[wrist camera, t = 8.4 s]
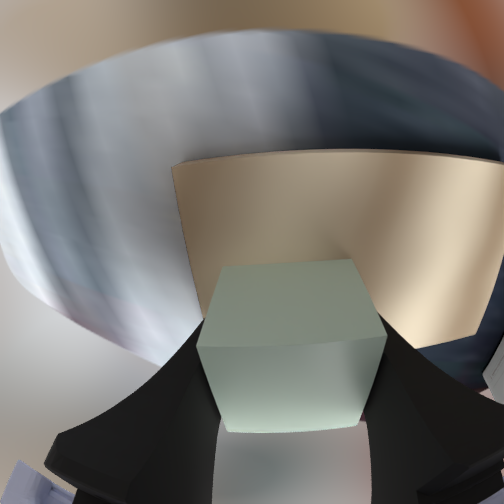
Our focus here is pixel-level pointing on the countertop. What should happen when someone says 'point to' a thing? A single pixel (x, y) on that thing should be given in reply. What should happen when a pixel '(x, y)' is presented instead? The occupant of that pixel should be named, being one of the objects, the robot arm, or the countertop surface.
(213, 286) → the board
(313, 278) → the pale green block
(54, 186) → the countertop surface
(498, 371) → the supplement box
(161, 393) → the robot arm
